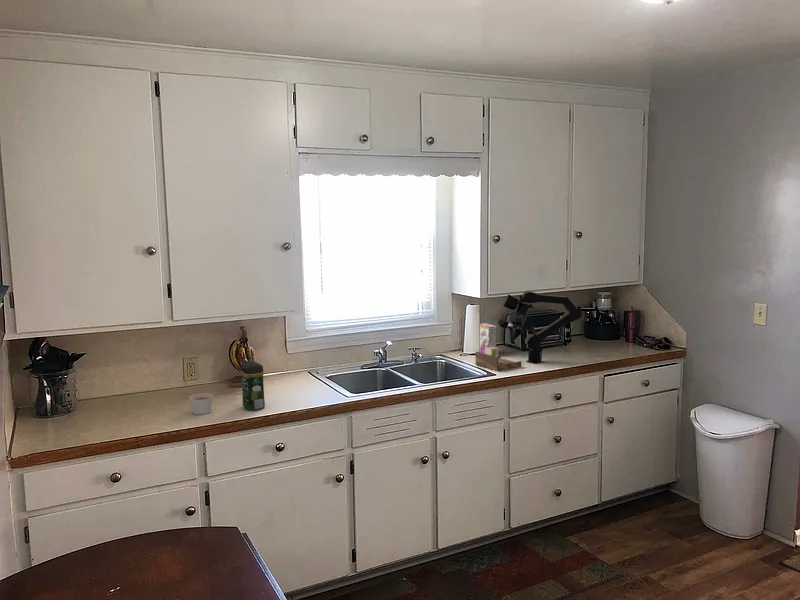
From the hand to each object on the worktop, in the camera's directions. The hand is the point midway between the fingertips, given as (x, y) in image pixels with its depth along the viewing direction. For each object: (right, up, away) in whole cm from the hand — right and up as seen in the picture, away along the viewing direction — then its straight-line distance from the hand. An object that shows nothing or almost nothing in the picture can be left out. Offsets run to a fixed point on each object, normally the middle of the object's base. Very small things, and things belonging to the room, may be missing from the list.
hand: (510, 341), depth 329 cm
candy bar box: (-8, -9, +27) cm, 30 cm away
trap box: (-6, -12, 0) cm, 14 cm away
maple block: (-10, -11, -3) cm, 15 cm away
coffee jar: (-114, -22, -67) cm, 134 cm away
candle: (-134, -23, -72) cm, 154 cm away
